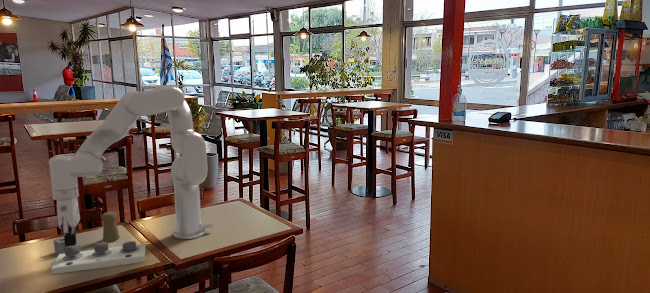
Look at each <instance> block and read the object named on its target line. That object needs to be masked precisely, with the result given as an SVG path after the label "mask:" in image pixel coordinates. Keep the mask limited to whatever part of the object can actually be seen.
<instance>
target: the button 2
mask: <svg viewBox="0 0 650 293" xmlns="http://www.w3.org/2000/svg"><path fill="white" fill-rule="evenodd" d="M136 245H137V242H136V241H131V240H130V241H126V242H124V243H122V246H123V251H125V252H129V251H133V250H135V249H136Z"/></svg>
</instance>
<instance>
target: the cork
mask: <svg viewBox="0 0 650 293" xmlns="http://www.w3.org/2000/svg"><path fill="white" fill-rule="evenodd" d="M117 217H118V215H117V213H116V212H114V211H107V212H104V213H103V214H102V215H101V220H102V222H103V231H102V242H103V241H104V242H110V243H115V242H117V241H116V240H118V239H119V238H120V239H121V237H120V232H119V228H118V226H117ZM120 239H119V240H120ZM119 240H118V241H119ZM114 241H115V242H114Z"/></svg>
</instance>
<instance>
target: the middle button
mask: <svg viewBox="0 0 650 293" xmlns="http://www.w3.org/2000/svg"><path fill="white" fill-rule="evenodd" d="M108 248H109V243H107V242H103V241H99V242H96V243H94V244H93V250H94V251H95V252H104V251H107V250H108Z"/></svg>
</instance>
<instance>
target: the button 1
mask: <svg viewBox="0 0 650 293" xmlns="http://www.w3.org/2000/svg"><path fill="white" fill-rule="evenodd" d="M80 251H81V249H80V246H79V245H78V244H77V245H73V246H68V247H66V248H65V255H66V256H73V255H77V254H79V253H80Z"/></svg>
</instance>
